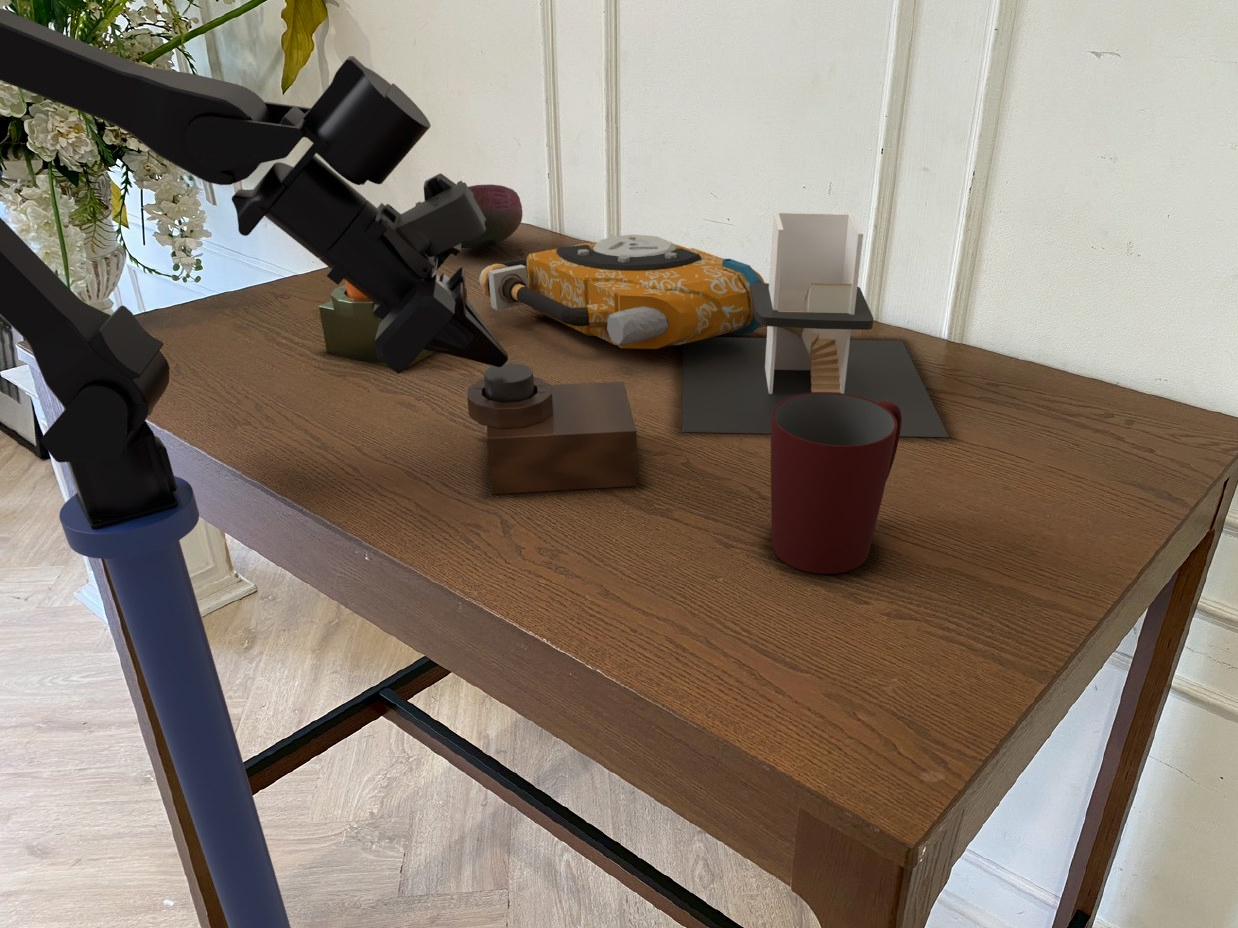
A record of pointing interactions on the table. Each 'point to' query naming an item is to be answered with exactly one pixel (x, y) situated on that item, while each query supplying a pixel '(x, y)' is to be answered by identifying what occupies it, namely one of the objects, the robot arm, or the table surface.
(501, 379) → the black button
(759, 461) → the table surface
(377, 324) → the green block
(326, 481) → the table surface
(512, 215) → the bowl
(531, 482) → the walnut block
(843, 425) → the mug
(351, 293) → the orange button
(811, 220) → the dark square-based piece
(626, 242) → the device
